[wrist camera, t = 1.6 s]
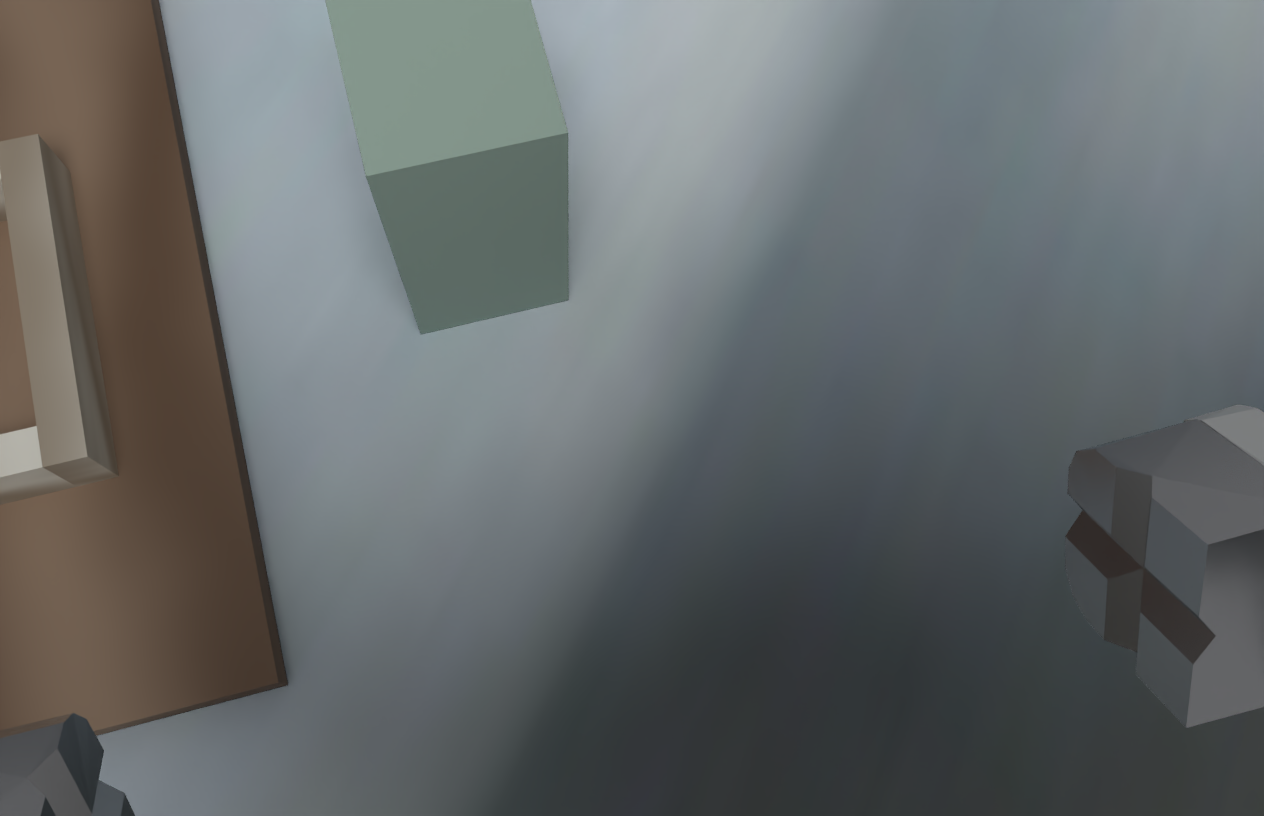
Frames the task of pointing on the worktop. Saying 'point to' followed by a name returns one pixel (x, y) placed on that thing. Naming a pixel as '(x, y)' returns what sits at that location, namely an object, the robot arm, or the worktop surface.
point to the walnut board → (114, 392)
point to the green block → (460, 151)
